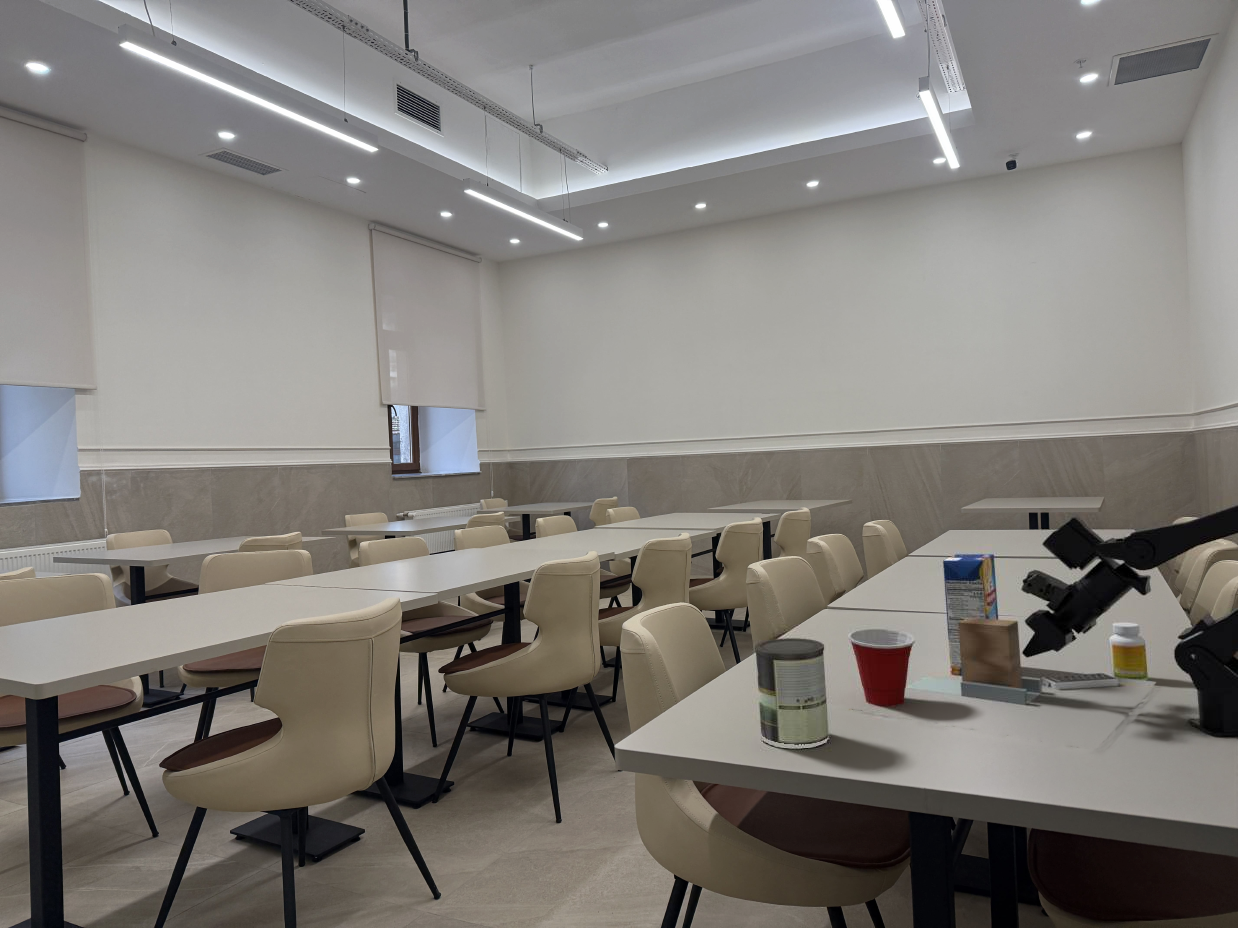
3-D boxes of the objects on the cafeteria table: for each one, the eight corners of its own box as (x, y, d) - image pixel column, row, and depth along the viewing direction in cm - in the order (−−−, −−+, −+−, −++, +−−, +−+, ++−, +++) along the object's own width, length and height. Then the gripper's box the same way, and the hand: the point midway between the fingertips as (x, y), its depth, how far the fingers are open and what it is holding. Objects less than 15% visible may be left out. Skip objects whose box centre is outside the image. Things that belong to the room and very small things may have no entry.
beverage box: (951, 678, 148) (942, 560, 148) (964, 665, 157) (956, 554, 157) (991, 682, 144) (982, 560, 144) (1001, 668, 153) (993, 554, 153)
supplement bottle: (1153, 683, 137) (1149, 626, 137) (1119, 683, 138) (1115, 627, 139) (1140, 675, 143) (1135, 621, 143) (1107, 675, 144) (1103, 621, 144)
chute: (1042, 696, 133) (1041, 678, 133) (1025, 709, 127) (1024, 690, 127) (925, 680, 147) (924, 664, 147) (904, 692, 141) (903, 675, 141)
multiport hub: (1120, 692, 134) (1119, 678, 134) (1056, 696, 134) (1055, 683, 134) (1103, 685, 139) (1102, 672, 139) (1041, 689, 138) (1040, 676, 139)
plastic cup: (876, 719, 127) (871, 643, 127) (840, 702, 137) (835, 632, 137) (934, 709, 130) (929, 636, 130) (894, 693, 140) (890, 625, 140)
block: (1022, 692, 134) (1017, 620, 134) (1012, 699, 130) (1007, 626, 130) (973, 685, 139) (969, 617, 139) (963, 692, 136) (958, 622, 136)
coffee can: (748, 742, 119) (742, 648, 120) (780, 723, 127) (775, 635, 128) (811, 754, 113) (804, 655, 113) (841, 733, 121) (835, 641, 121)
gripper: (1070, 548, 134) (1005, 608, 142) (1035, 561, 121) (966, 627, 128) (1127, 598, 129) (1056, 658, 136) (1097, 617, 115) (1021, 682, 123)
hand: (1024, 654), depth 131 cm, fingers closed
